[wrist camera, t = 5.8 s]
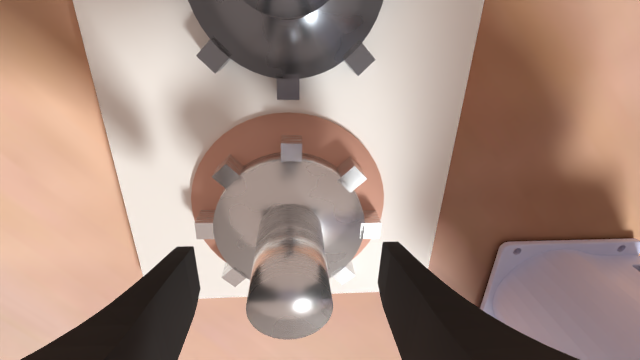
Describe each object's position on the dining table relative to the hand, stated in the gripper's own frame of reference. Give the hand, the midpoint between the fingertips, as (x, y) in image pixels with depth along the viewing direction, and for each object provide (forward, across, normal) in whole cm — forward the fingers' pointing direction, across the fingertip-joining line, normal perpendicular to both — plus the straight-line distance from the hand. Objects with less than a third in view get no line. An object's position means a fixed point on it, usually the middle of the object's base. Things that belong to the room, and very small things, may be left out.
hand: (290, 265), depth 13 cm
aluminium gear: (+4, 0, +1) cm, 4 cm away
